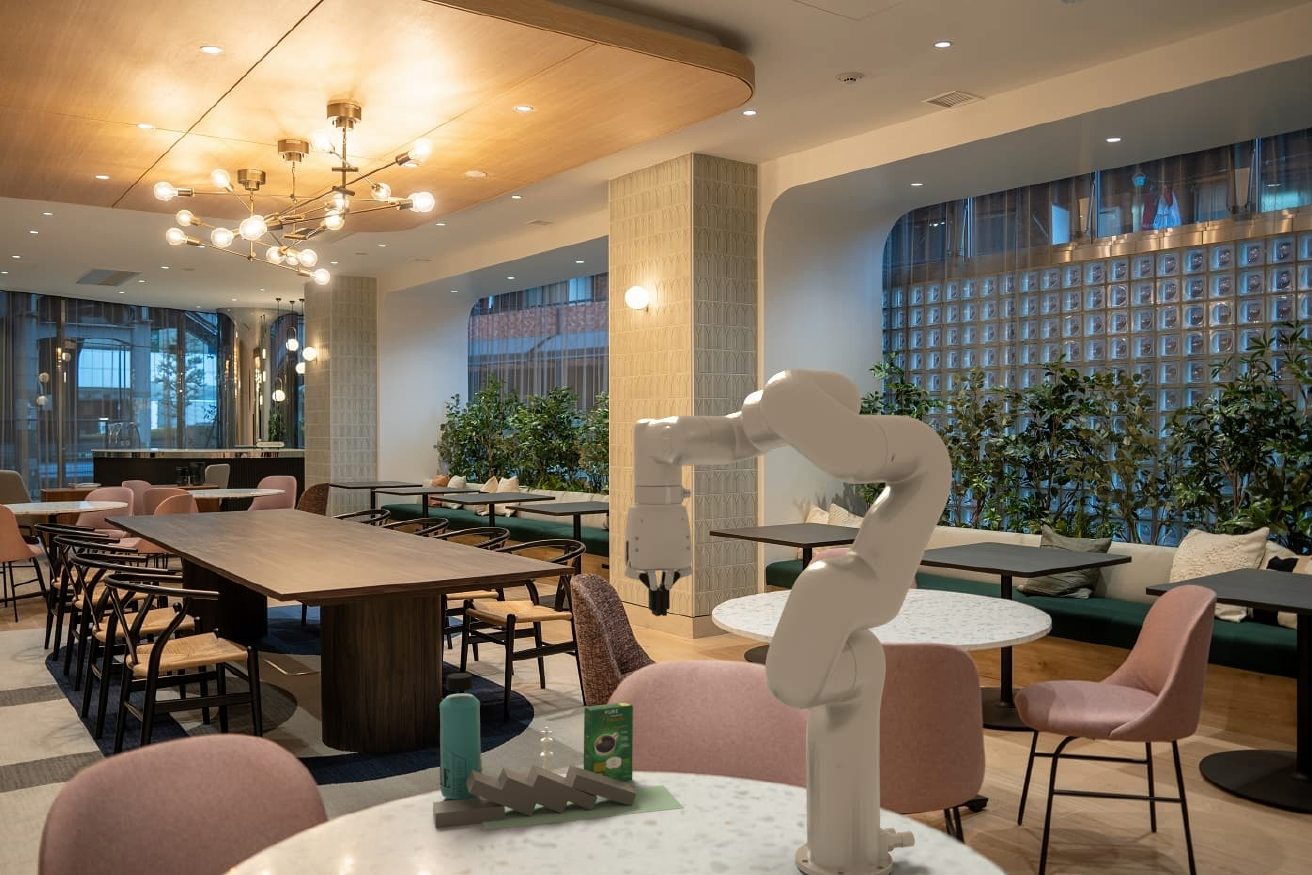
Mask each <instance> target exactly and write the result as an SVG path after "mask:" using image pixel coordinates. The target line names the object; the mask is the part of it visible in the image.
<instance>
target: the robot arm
mask: <svg viewBox="0 0 1312 875" xmlns="http://www.w3.org/2000/svg"><path fill="white" fill-rule="evenodd" d="M861 397H862V396H861V394H860V391H859V389H858V387H857V386H856V385H855V383H854V382H853V381H852V379H850V378H849V377H848V376H845V375H844V374H841V373H839V372H836V371H835V372H834V371H829V370H828V371H827V370H815V369H801V368H800V369H799V368H794V369H792V368H791V369H786V370H783V371H781V372H778V373H776V374H775V375H773V376H772V377H771V378H770V379H769V380H768V381H767V383H766V384H765V386H764V387H763V389H761V390H756V391H754V392H752V393H751V394H749V395H748V396H746V398H745V399H744V401H743V404H742V406H741V409H740V411H738V412H736V413H735V412H734V413H732V414H731V413H730V414H728V415H722V416H719V415H716V416H715V415H714V416H713V415H675V416H670V417H666V418H643V419H640V420H637V421H636V422H635V424H634V425H633V496H634V497H633V498H634V499H633V501H634V502H633V505H630V506H628V509H627V517H626V523H625V532H624V533H625V534H624V535H625V536H624V546H623V549H624V550H623V551H624V552H623V555H624V556H623V557H624V558H623V560H624V565H625V571H624V576H625V577H626V578H629V579H632V580H637V581H638V580H639V581H640V582H641V583H642V585H644V586H645V587H646V589H648V609H649V611H651V614H652V615H653V616H655V617H660V616H662V617H665V616H666V617H667V616H668V610H670V606H671V603H670V599H671V598H670V596H671V595H670V594H671V593H670V591H671V590H672V588H673V586H674V585H675V584H676V583H677V582H678V580H679V579H681V578H685V577H688V576H689V577H690V576H691V575H692V574H693V568H692V562H693V545H692V535H691V534H692V532H691V526H690V519H689V514H688V509H687V505H684V504H683V503H684V500H685V499H689V498H691V496H692V492H691V489H686V488H684V486H683V470H682V469H683V466H684V467H685V466H707V465H708V466H711V465H712V466H714V465H715V466H717V465H718V466H719V465H720V466H721V465H727V464H732V463H733V464H734V463H737V462H742V461H745V460H750V459H753V458H758V457H761V456H764V455H766V454H768V453H771V451H773V450H776V449H780V448H783V447H784V448H785V447H787V446H790V447H791V448H792V449H793V450H796V452H798V453H799V454H800V455H801V456H802V457H804V458H805V459H807V460H808V461H809V462H810V463H811V464H813V465H814V466H816V467H817V468H818V469H820V470H821V471H822V472H823V473H825V474H826V475H828V476H829V477H831V478H833V479H834V480H837V481H839V482H841V483H844V484H845V483H846V484H852V485H863V484H879V483H881V484H882V483H885V487H884V488H883V490H882V492H881V493H880V494H879V496H878V497H877V498H876V500H875V501H874V502H873V503H872V504H871V506H870V507H869V509H868V510H867V511H866V513H865V515H864V516H863V519H862V521H861V525H860V527H859V530H858V533H857V534H856V537H855V539H854V541H853V543H852V545H851V547H850V549H849V550H848V551H847V552H846V553H845V554H843V555H840V556H834V557H827V558H822V559H820V560H817V561H815V562H813V563H811V564H809V565H808V566H807V567H806V568H805V569H804V570H802V572H801V573H800V574H799V576H798V577H797V578H796V579H795V581H794V584H793V585H792V587H791V590H790V593H789V595H788V597H787V600H786V603H785V605H784V607H783V609H782V613H781V615H780V617H779V620H778V623H777V626H776V628H775V631H774V634H773V636H772V638H771V640H770V644H769V646H768V651H767V654H766V658H765V667H764V668H765V672H764V673H765V680H766V683H767V686H768V689H769V691H770V692H771V694H772V696H773V697H774V698H775V699H776V700H777V701H778V702H779V703H780V704H782V705H783V706H784V707H785V706H786V707H788V708H789V709H795V710H806V709H809V710H808V715H807V722H806V729H805V730H806V733H805V735H806V736H805V739H806V740H805V758H806V759H805V764H806V765H805V767H806V768H805V769H806V771H805V772H806V773H805V774H806V777H805V778H806V782H805V783H806V843H804V844H803V845H801V846H800V847H798V849H797V850H796V851H795V857H794V858H795V865H796V866H797V868H798V869H799V870H800V871H802V873H804V874H806V875H889V874H891V873H892V871H893V868H894V864H893V863H894V860H893V857H892V855H891V854H890V853H889V852H893V851H894V849H896V848H903V849H904V848H911V847H913V846H915V842H916V840H915V835H914V833H913V832H912V831H911V830H908V831H899V832H896V829H895V828H894V827H888V828H881V787H880V786H881V785H880V784H881V782H880V780H881V779H880V778H881V777H880V774H881V773H880V767H881V766H880V748H881V747H880V745H881V744H880V722H881V721H880V720H881V717H880V716H881V704H882V697H883V691H884V686H885V680H886V671H887V670H886V669H887V666H886V665H887V664H886V655H885V650H884V646H883V645H882V643H881V641H880V640H879V637H877V635H876V634H875V633H874V632H873V631H871V630H870V629H874V628H877V627H882V626H884V625H886V624H888V623H890V622H892V621H893V620H894V619H895V618H896V617H897V616H898V614H899V612H900V610H901V609H902V607H903V604H904V602H905V600H906V598H907V595H908V593H909V590H910V588H911V585H912V583H913V581H914V579H915V576H916V574H917V572H918V569H919V567H920V565H921V562H922V560H923V558H924V555H925V551H926V548H927V546H928V544H929V542H930V539H931V537H932V536H933V533H934V530H935V528H936V527H937V526H938V523H939V521H940V518H941V516H942V514H943V512H944V510H945V507H946V504H947V502H948V499H949V496H950V493H951V488H952V482H953V470H952V468H953V467H952V461H951V457H950V454H949V452H948V448H947V446H946V445H945V443H944V440H943V439H942V438H941V436H940V435H939V433H937V431H936V430H935V429H934V428H932V427H931V426H930V425H929V424H927V423H925V422H924V421H921V420H919V419H917V418H914V417H911V416H906V415H896V414H895V415H894V414H860V412H861V408H862V398H861ZM657 571H661V575H660V582H659V585H658V579H657V574H656V573H657Z"/></svg>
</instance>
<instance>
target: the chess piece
mask: <svg viewBox="0 0 1312 875" xmlns="http://www.w3.org/2000/svg"><path fill="white" fill-rule="evenodd" d="M540 732H541V734H540V735H544V737H543V738H541V739H540V744H541V747H542V750H543V752H541V753H540V755H539V756H540V758H541V757H542V758H543V766H542V768H543V769H545V770H548V771H550V772H552V766H551V759H550V758H551V757H554V753H553V751H551V748H552V745H553V742H554V740H553V738H550V737H549V736H551V735H553V731H552V730H550V731H549V727H548V726H545V727H544V730H541V731H540Z"/></svg>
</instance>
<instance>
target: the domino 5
mask: <svg viewBox="0 0 1312 875" xmlns="http://www.w3.org/2000/svg"><path fill="white" fill-rule="evenodd" d="M564 777H565V778H566V779H567V781H568V782H569V784H570V786H571V787H572V788H575V789H578V790H581V791H584V792H587V793H591V794H594V795H597V796H600V797H604V798H607V799H610V800H613V801H617V802H620V803H623V804H626V805H629V806H632V804H633V802H634V799H635V796H636V792H635V791H634V790H633V789H632V788H633V787H632V786H631V785H630V783H628V782H622V781H619V780H616V779H613V778H610V777H606V776H603V775H600V774H597V773H594V772H591V771H587V770H584V768H581V767H577V766H574V765H571V764H570V765H569V766H568V769H567V773H566V775H565V776H564Z"/></svg>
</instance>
